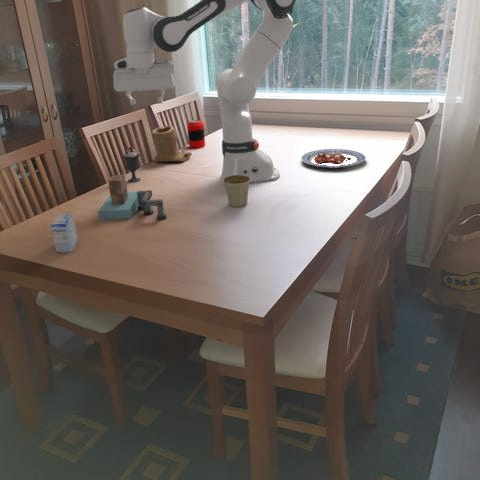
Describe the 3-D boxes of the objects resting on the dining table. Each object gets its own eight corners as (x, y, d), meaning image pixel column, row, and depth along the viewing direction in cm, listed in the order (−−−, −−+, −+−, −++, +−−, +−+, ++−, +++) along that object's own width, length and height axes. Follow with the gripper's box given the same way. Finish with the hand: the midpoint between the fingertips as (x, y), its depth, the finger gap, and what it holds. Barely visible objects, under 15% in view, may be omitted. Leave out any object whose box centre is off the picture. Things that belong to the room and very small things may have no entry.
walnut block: (128, 197, 173) (124, 174, 169) (124, 204, 167) (120, 180, 164) (116, 198, 173) (112, 175, 169) (111, 204, 167) (108, 181, 164)
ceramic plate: (293, 169, 203) (293, 162, 202) (310, 152, 225) (310, 145, 223) (358, 174, 194) (359, 166, 193) (370, 155, 215) (370, 148, 214)
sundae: (139, 183, 196) (134, 144, 189) (123, 182, 197) (117, 144, 191) (145, 177, 202) (140, 140, 195) (129, 177, 203) (124, 140, 197)
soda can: (208, 145, 243) (206, 120, 238) (198, 149, 237) (196, 123, 232) (195, 144, 247) (193, 119, 242) (186, 147, 241) (183, 122, 236)
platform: (141, 199, 179) (139, 191, 177) (130, 218, 163) (129, 209, 162) (112, 201, 179) (111, 192, 178) (99, 219, 164) (98, 210, 162)
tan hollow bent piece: (149, 164, 218) (145, 129, 212) (160, 157, 229) (156, 123, 222) (183, 165, 215) (179, 130, 208) (192, 157, 225) (189, 123, 219)
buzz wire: (170, 205, 172) (169, 188, 169) (165, 219, 161) (163, 201, 159) (138, 207, 172) (136, 190, 170) (130, 220, 161) (128, 203, 159)
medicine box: (63, 241, 150) (57, 214, 146) (78, 240, 150) (72, 212, 146) (56, 253, 142) (50, 224, 139) (72, 252, 143) (66, 223, 139)
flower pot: (231, 211, 165) (229, 185, 161) (218, 202, 173) (217, 178, 169) (256, 205, 169) (256, 180, 165) (243, 197, 176) (242, 173, 173)
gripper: (174, 58, 172) (178, 100, 177) (113, 61, 172) (119, 103, 178) (171, 60, 166) (175, 104, 172) (109, 64, 167) (115, 107, 173)
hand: (146, 103), depth 175 cm, fingers open, 8 cm apart
